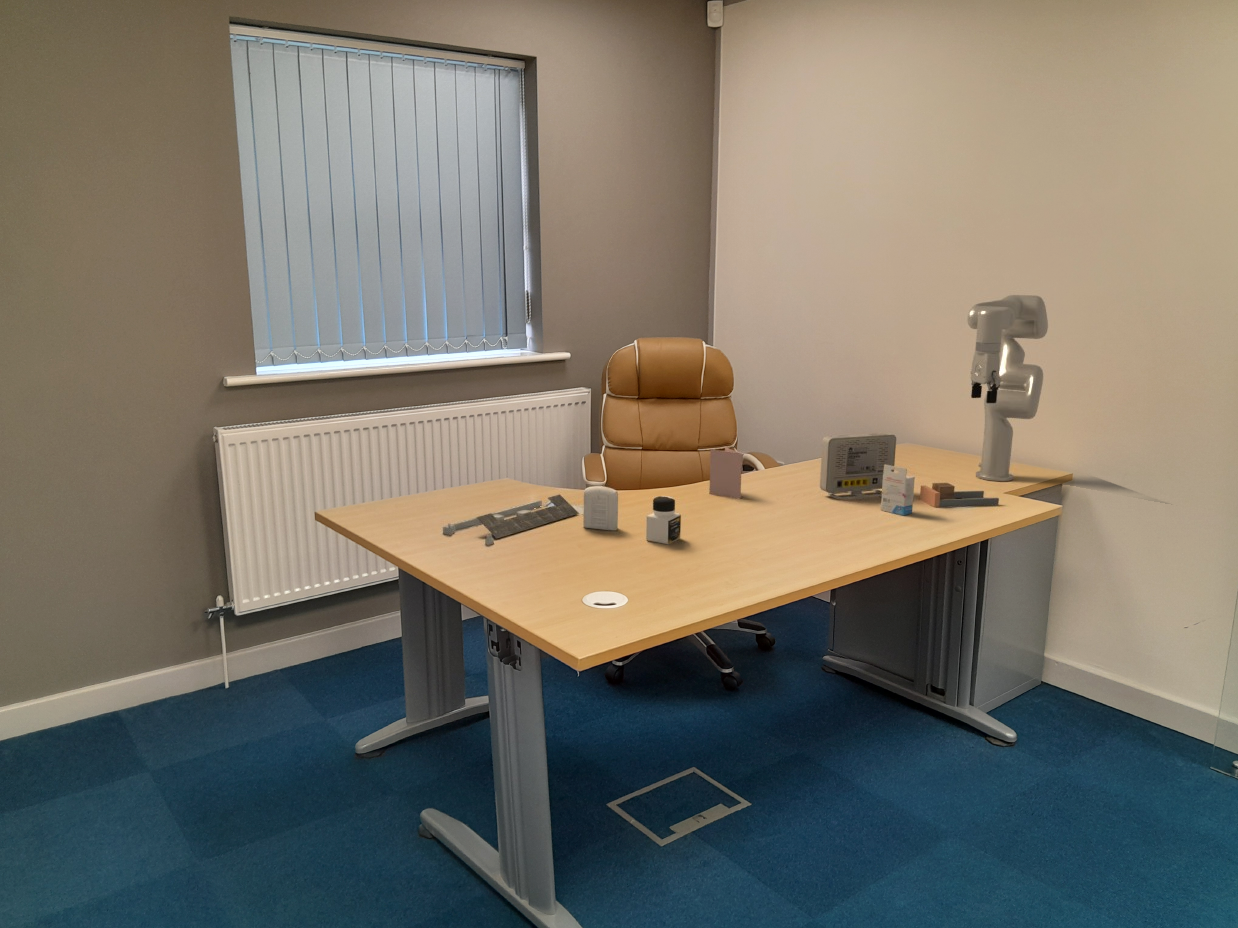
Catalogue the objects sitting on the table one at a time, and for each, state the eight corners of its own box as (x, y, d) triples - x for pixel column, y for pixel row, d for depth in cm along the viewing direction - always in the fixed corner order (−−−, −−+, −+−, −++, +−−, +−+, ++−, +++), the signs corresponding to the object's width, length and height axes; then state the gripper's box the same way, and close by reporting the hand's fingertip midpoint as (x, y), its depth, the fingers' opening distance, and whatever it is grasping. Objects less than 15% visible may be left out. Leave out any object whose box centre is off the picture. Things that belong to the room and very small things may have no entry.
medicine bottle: (668, 544, 251) (669, 502, 249) (645, 540, 255) (646, 498, 252) (680, 538, 257) (681, 496, 254) (658, 534, 261) (659, 493, 258)
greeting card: (742, 498, 301) (744, 453, 297) (722, 500, 298) (723, 455, 295) (726, 490, 311) (727, 446, 308) (706, 492, 308) (707, 448, 305)
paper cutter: (442, 534, 261) (442, 515, 260) (552, 503, 294) (552, 486, 293) (486, 547, 250) (486, 527, 248) (595, 513, 283) (595, 496, 282)
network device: (882, 488, 314) (886, 431, 310) (897, 495, 306) (901, 435, 302) (815, 494, 306) (819, 435, 302) (829, 500, 298) (833, 440, 294)
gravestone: (619, 527, 267) (620, 486, 264) (615, 531, 263) (615, 489, 260) (586, 524, 270) (586, 483, 267) (581, 528, 266) (581, 486, 263)
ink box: (912, 513, 284) (916, 466, 281) (903, 516, 281) (907, 468, 278) (889, 507, 290) (892, 462, 287) (879, 510, 287) (883, 464, 284)
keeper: (931, 500, 299) (932, 482, 298) (945, 500, 300) (947, 482, 298) (938, 504, 294) (939, 486, 293) (953, 504, 295) (954, 486, 294)
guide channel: (919, 498, 301) (920, 485, 300) (981, 497, 304) (983, 483, 303) (934, 507, 291) (935, 493, 290) (998, 505, 294) (999, 491, 293)
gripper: (963, 345, 304) (959, 396, 308) (990, 351, 287) (986, 405, 291) (985, 344, 305) (981, 395, 309) (1013, 350, 288) (1008, 404, 292)
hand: (983, 400), depth 300 cm, fingers open, 9 cm apart
